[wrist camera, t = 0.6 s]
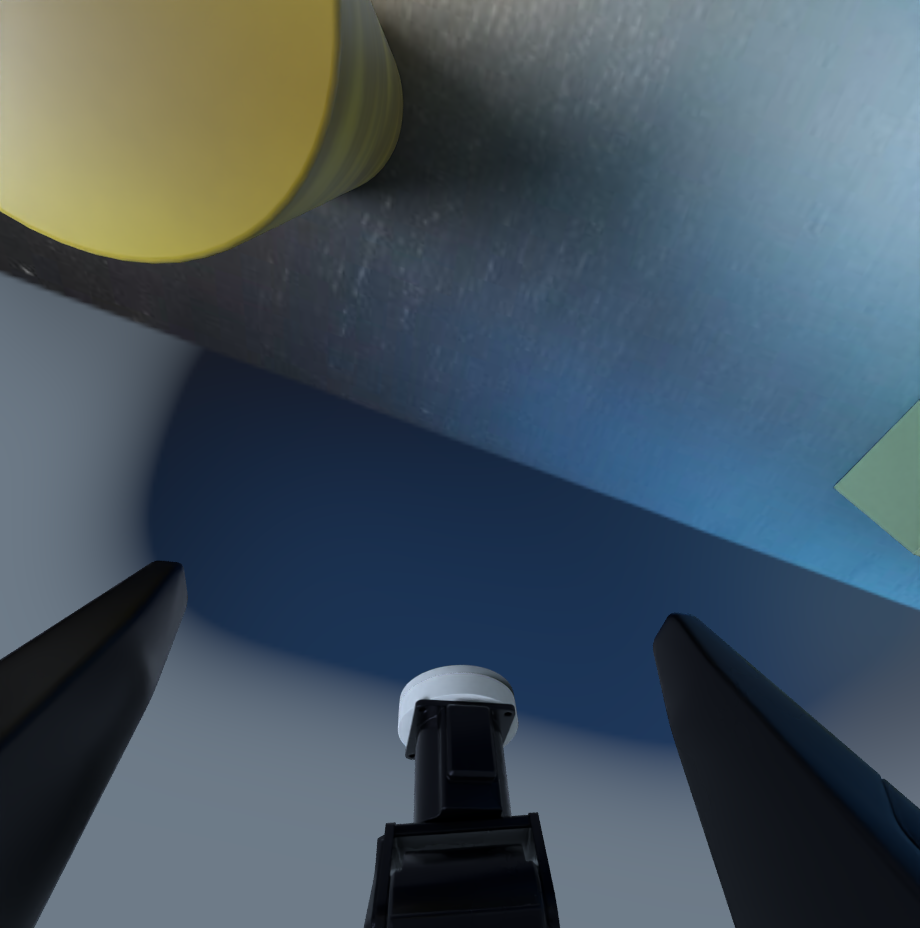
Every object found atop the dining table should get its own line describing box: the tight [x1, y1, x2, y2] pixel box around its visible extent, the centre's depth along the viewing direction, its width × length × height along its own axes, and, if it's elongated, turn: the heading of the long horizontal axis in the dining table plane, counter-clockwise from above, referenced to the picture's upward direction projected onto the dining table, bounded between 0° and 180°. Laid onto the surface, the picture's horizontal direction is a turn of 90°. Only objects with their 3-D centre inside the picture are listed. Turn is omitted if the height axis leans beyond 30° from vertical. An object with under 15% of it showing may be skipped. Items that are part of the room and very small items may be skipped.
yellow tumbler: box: [0, 0, 403, 264], centre depth 10 cm, size 5×5×13 cm
